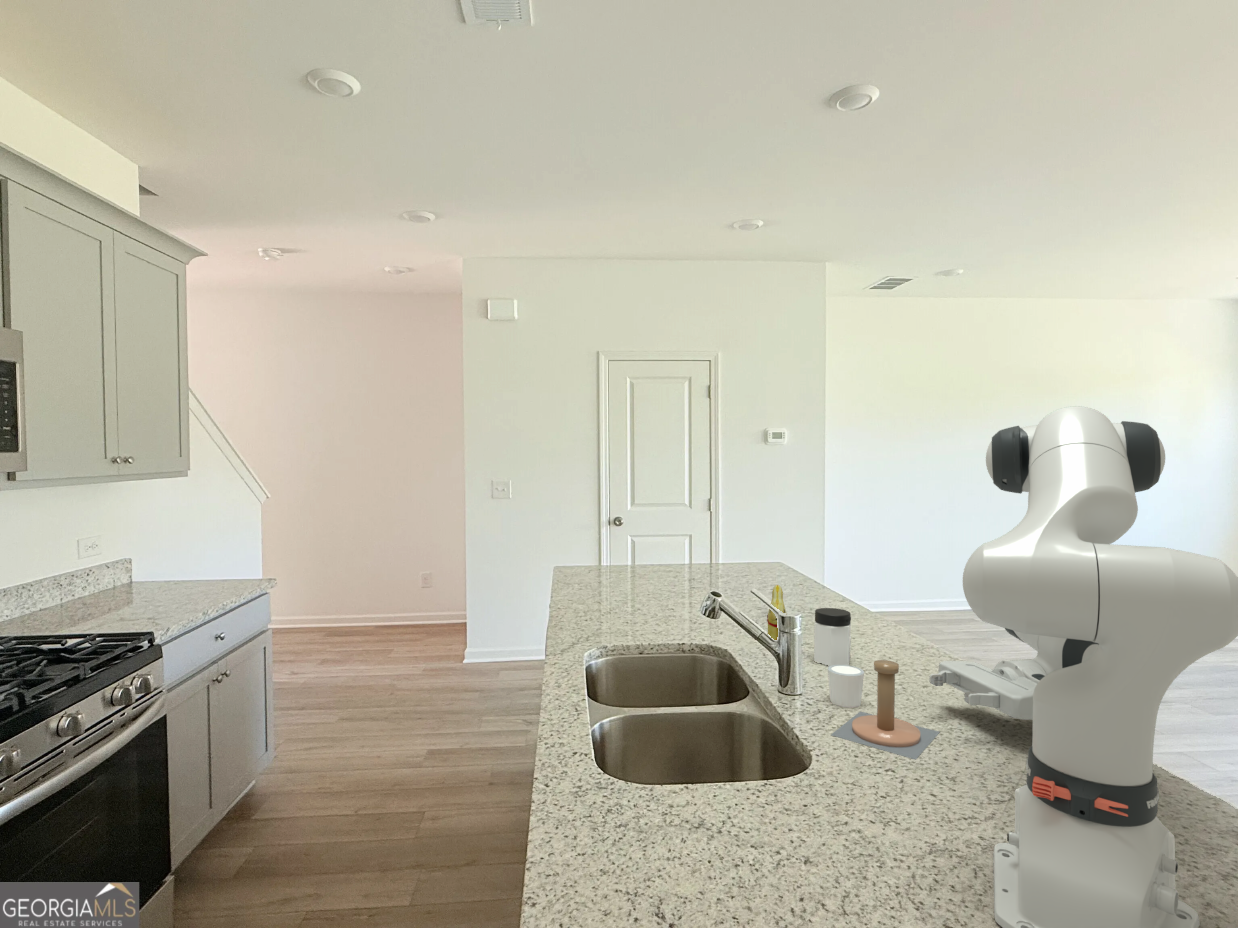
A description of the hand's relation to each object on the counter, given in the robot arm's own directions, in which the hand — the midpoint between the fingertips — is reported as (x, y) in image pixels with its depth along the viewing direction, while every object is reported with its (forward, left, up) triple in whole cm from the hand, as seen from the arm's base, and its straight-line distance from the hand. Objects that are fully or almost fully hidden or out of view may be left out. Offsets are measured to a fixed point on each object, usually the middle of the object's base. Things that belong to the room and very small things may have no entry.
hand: (948, 689), depth 116 cm
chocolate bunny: (+33, +49, -8) cm, 59 cm away
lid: (-9, +8, -7) cm, 14 cm away
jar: (+26, +32, -8) cm, 42 cm away
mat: (-9, +8, -8) cm, 14 cm away
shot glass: (+1, +19, -8) cm, 20 cm away
